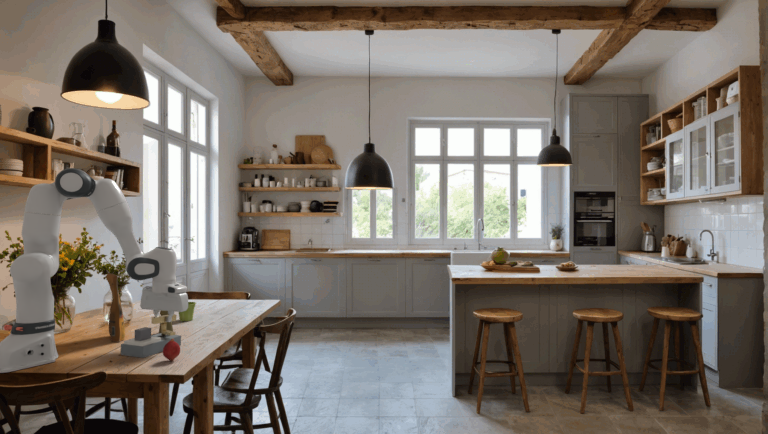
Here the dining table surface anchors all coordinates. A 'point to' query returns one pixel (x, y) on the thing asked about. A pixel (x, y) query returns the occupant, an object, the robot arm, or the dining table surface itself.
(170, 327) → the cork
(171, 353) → the onion
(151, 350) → the case
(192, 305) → the plant pot
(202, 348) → the dining table surface
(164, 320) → the t key
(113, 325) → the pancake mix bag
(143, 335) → the cover
